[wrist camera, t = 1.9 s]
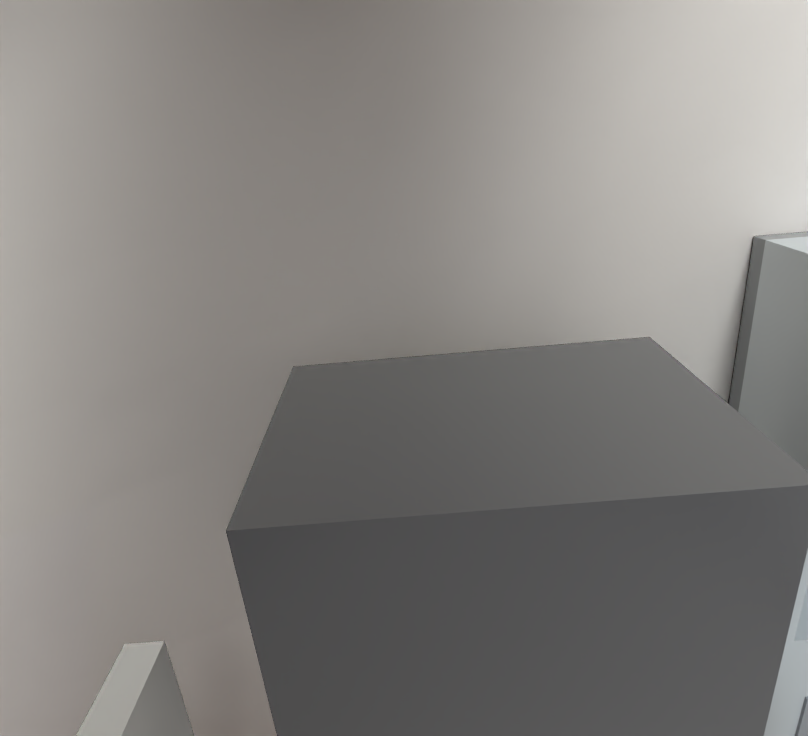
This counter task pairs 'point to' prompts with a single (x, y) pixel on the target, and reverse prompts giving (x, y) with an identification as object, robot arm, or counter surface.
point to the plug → (518, 548)
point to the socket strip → (779, 419)
